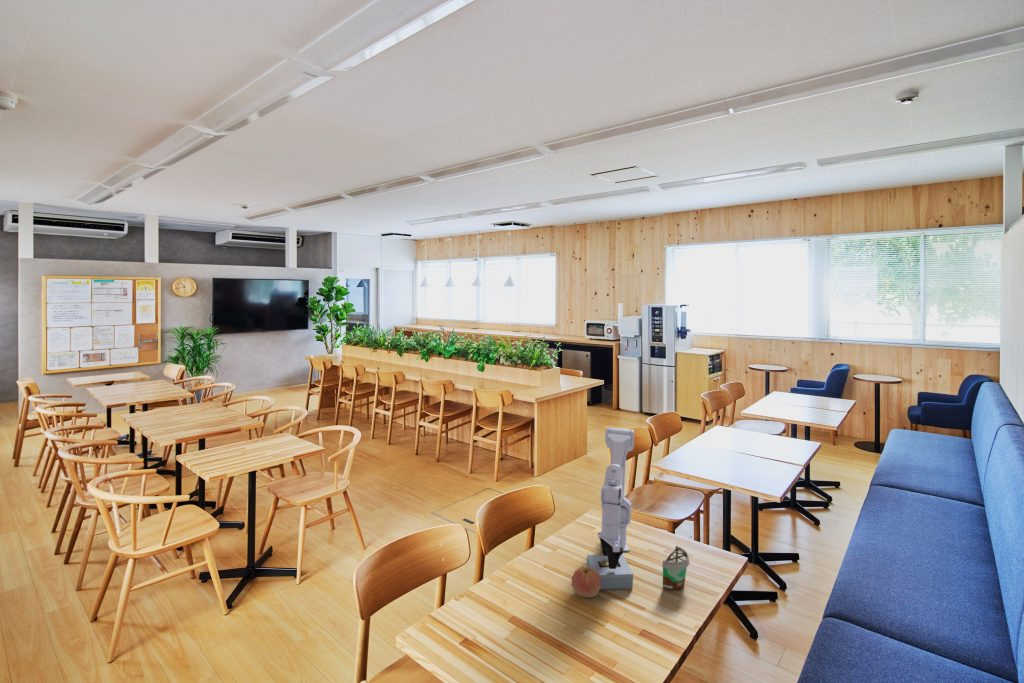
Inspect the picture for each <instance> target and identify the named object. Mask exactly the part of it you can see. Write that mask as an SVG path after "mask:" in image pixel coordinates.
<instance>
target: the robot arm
mask: <svg viewBox="0 0 1024 683" xmlns="http://www.w3.org/2000/svg"><path fill="white" fill-rule="evenodd" d="M604 437H605V439H604V440H605V442H604V443H605V444H606V447H607V448H608V449H610V465H608V466H606V469H605V475H604V476H605V477H604V480H603V481H604V483H603V485H602V486H601V490H600V500H601V501H600V502H601V509H602V510H601V511H602V512H601V532H598V533H597V538H598V539H599V541H600V546H601V552H602V554H603V556H608V565H609V568H610V569H616V567H617V564H618V561H619V558H620V556H621V555H623V554H624V552H630V548H629V546H628V544H627V526H628V525H630V524H631V520H632V503H631V501H630V500H629V499H628V498H627V497H626V496H625V482H626V479H625V478H626V462H627V461H626V460H627V455H628V453H629V452H631V451H633V450H634V446H635V445H634V444H635V430H634V429H629V428H618V427H610V426H607V427H606V429H605V435H604Z"/></svg>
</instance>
